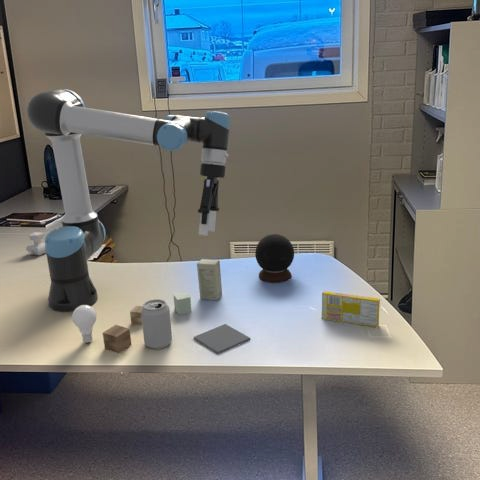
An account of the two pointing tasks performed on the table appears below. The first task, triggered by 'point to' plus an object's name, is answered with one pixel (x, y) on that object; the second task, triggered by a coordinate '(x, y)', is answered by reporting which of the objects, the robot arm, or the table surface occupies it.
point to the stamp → (36, 244)
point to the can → (156, 324)
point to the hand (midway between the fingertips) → (206, 233)
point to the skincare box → (209, 279)
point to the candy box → (350, 309)
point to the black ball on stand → (274, 258)
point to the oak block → (136, 315)
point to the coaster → (221, 338)
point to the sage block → (182, 303)
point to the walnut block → (117, 338)
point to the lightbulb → (85, 321)
